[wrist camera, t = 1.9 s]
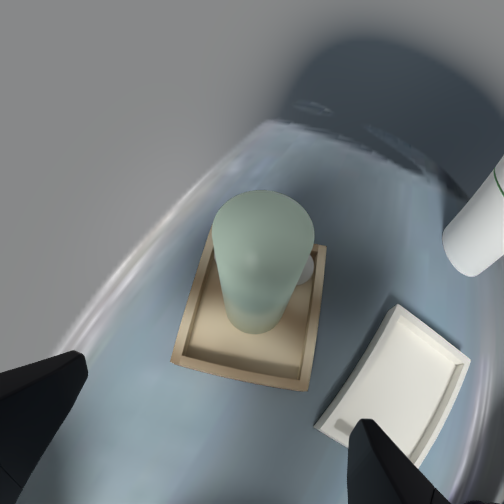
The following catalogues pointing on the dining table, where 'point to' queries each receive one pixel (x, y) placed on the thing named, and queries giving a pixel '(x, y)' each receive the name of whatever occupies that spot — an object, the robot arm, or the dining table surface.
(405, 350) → the white tray
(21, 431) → the robot arm
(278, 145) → the dining table surface
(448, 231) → the cylindrical container
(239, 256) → the sage green tall cylinder
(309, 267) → the white ball
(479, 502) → the storage jar
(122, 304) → the dining table surface
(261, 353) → the wooden tray
